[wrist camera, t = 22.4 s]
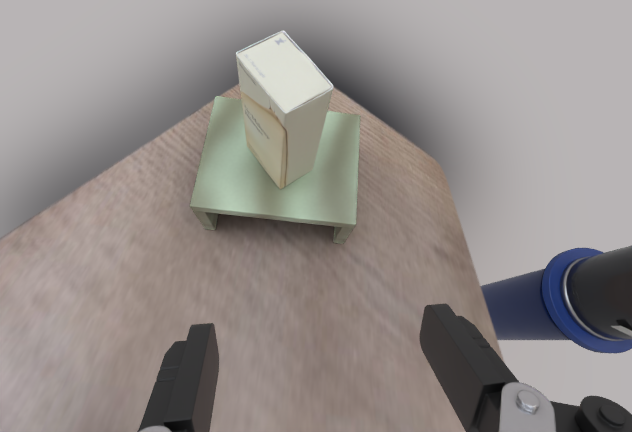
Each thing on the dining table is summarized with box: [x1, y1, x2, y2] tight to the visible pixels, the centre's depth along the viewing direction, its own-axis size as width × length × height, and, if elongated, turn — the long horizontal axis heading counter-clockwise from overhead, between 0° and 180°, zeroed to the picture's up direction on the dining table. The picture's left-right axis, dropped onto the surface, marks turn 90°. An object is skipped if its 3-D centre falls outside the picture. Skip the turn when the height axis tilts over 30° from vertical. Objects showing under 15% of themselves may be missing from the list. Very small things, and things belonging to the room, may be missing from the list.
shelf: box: [190, 96, 360, 244], centre depth 38 cm, size 16×13×7 cm
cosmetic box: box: [236, 31, 333, 189], centre depth 29 cm, size 6×4×12 cm
